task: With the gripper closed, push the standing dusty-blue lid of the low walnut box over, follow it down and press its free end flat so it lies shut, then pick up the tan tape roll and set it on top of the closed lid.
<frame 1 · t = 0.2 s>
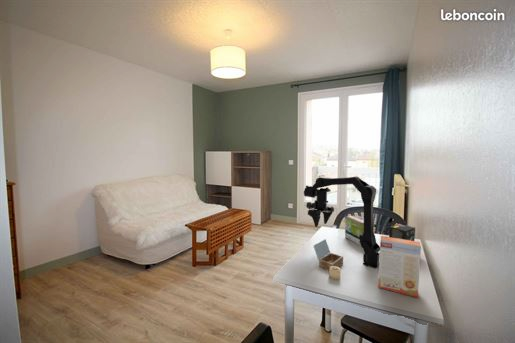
hand: (320, 225, 137), 14 cm above the table, fingers open, 9 cm apart
walnut box: (331, 264, 119), on the table
tampon box: (400, 251, 137), on the table
cracker box: (397, 289, 98), on the table
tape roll: (334, 277, 107), on the table
lid: (322, 249, 122), point 7 cm above the table, hinge at 115.0°
tea box: (358, 241, 153), on the table
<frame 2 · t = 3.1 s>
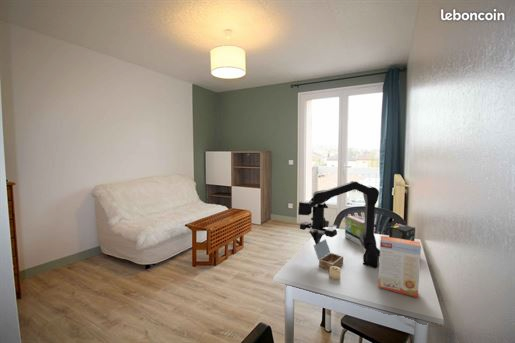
hand: (317, 245, 124), 8 cm above the table, fingers closed
lid: (322, 249, 122), point 7 cm above the table, hinge at 114.1°, touching gripper
everything else where it was.
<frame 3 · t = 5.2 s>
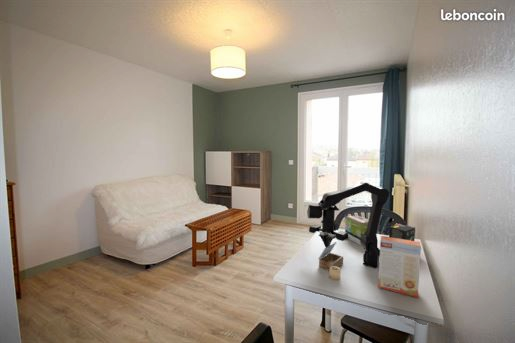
hand: (327, 248, 120), 8 cm above the table, fingers closed
lid: (327, 250, 120), point 7 cm above the table, hinge at 62.3°, touching gripper
everything else where it was.
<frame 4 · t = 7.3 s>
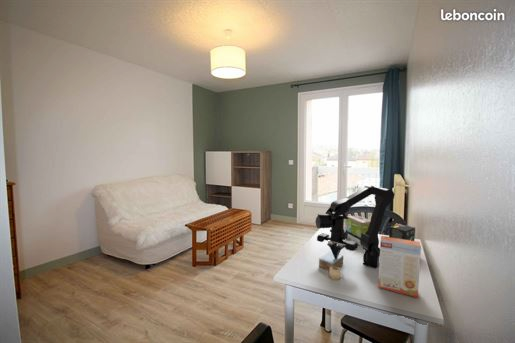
hand: (335, 258, 117), 4 cm above the table, fingers closed, pressing on lid
lid: (331, 257, 119), point 4 cm above the table, hinge at -0.3°, touching gripper
everything else where it was.
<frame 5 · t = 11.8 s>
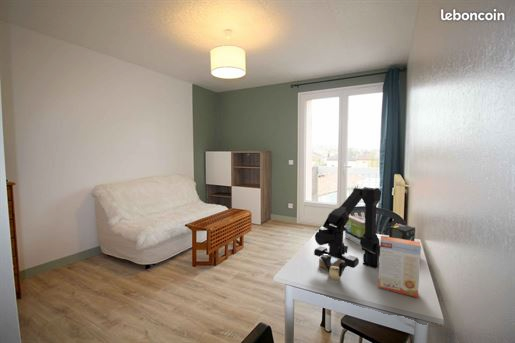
hand: (334, 274, 107), 1 cm above the table, fingers closed on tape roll, 5 cm apart
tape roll: (334, 277, 107), on the table, touching gripper
lid: (331, 257, 119), point 4 cm above the table, hinge at -0.3°
everything else where it was.
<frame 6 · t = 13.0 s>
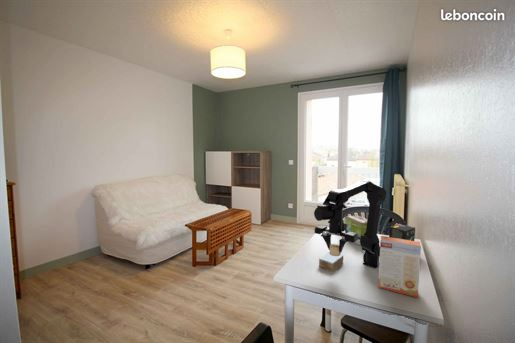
hand: (335, 251, 110), 11 cm above the table, fingers closed on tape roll, 5 cm apart
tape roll: (334, 253, 110), point 9 cm above the table, touching gripper
everything else where it was.
when the fingers open (6 cm above the table, at t = 14.6 s): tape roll stays where it is, resting on lid.
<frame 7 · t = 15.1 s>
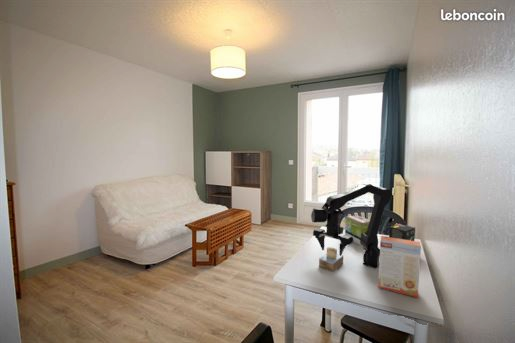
hand: (331, 252, 118), 6 cm above the table, fingers open, 9 cm apart
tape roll: (331, 256, 119), point 4 cm above the table, touching lid
lid: (331, 257, 119), point 4 cm above the table, hinge at -0.4°, touching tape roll
everything else where it was.
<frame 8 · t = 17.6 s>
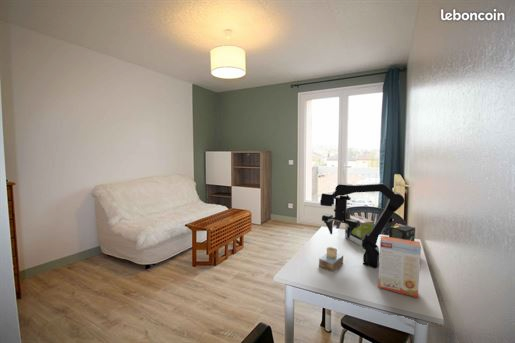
hand: (339, 236, 126), 12 cm above the table, fingers open, 9 cm apart
nothing on the table moved.
at the end: lid at +0° (first picture: +115°); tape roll inside the target area on the walnut box (0.2 cm from its centre), point 4.2 cm above the walnut box's base; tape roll tilted 0° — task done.
